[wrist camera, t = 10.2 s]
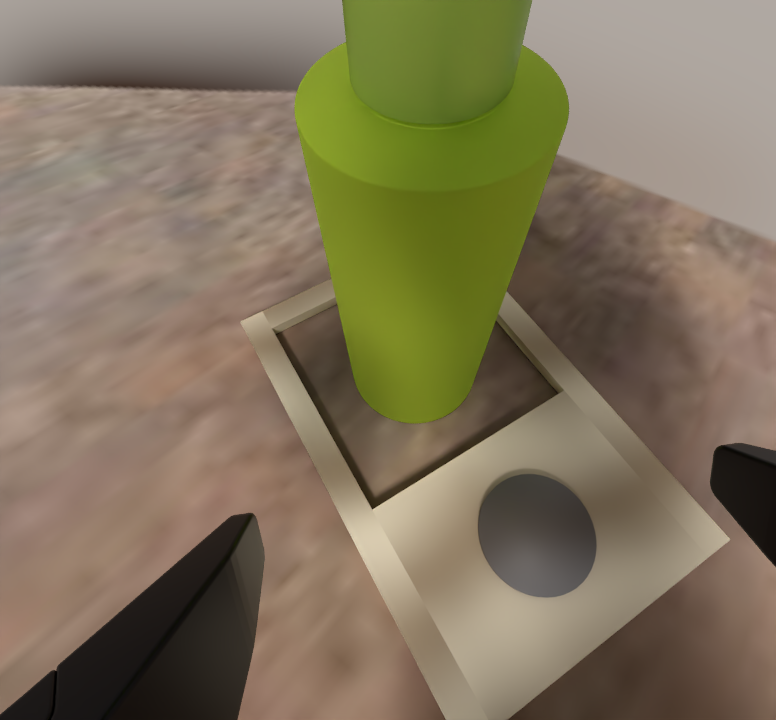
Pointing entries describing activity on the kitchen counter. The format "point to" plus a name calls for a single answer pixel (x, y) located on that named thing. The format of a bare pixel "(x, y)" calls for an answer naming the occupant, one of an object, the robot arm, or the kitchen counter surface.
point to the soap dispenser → (426, 185)
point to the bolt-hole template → (508, 529)
